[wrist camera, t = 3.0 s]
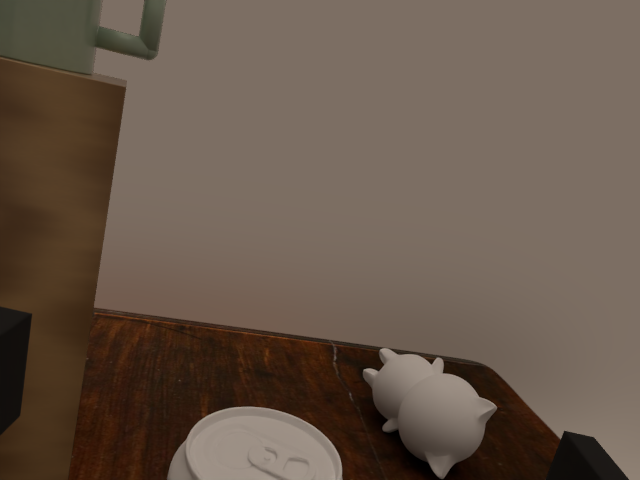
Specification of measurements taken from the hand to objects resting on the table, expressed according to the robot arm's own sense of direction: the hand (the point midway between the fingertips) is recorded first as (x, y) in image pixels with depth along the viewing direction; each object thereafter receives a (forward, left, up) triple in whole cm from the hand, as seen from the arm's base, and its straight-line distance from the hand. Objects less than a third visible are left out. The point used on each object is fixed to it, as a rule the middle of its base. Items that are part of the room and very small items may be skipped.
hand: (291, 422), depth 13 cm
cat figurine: (+25, +26, -20) cm, 41 cm away
